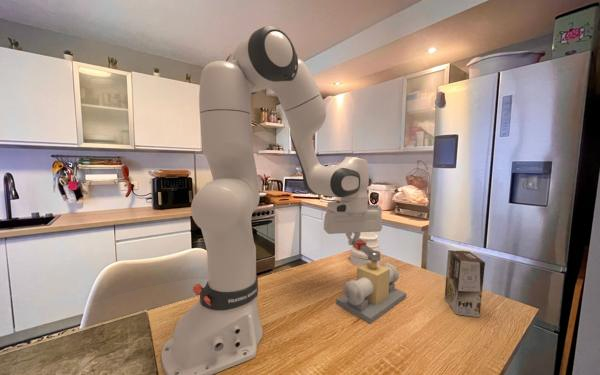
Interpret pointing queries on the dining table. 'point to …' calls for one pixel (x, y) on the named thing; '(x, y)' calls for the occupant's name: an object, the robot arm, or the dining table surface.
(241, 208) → the robot arm
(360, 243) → the lever
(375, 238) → the honey pot
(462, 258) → the coffee box
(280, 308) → the dining table surface
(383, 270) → the valve
